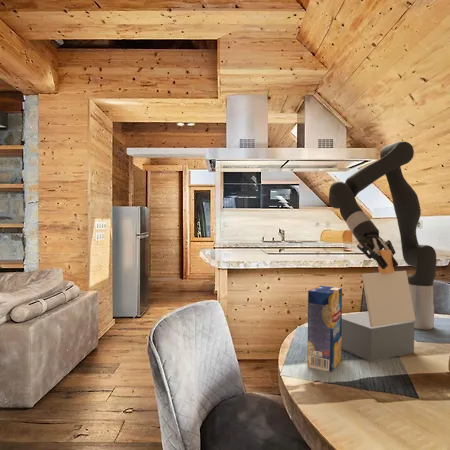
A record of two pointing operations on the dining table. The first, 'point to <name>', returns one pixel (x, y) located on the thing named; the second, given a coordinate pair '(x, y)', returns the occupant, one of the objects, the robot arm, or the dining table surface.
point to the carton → (376, 338)
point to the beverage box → (324, 327)
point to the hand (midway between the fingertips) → (390, 266)
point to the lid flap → (388, 295)
